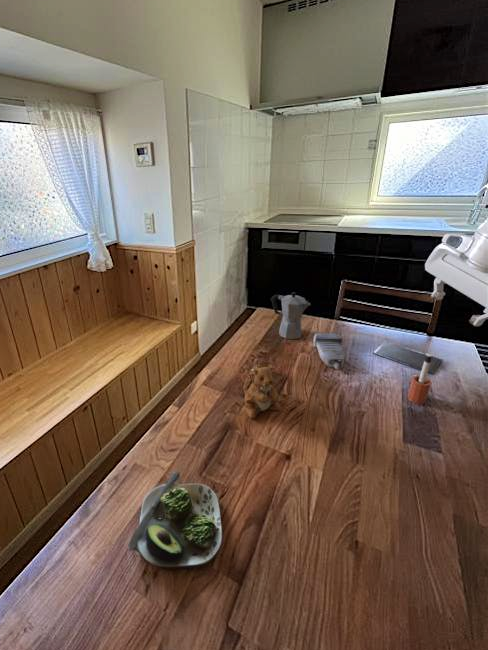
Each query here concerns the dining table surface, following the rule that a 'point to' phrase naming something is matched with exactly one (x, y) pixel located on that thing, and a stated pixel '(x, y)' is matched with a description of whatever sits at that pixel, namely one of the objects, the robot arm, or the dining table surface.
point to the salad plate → (178, 526)
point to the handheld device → (330, 349)
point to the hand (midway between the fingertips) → (454, 310)
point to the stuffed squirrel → (260, 391)
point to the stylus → (425, 368)
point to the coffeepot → (290, 314)
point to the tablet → (406, 356)
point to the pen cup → (419, 390)
